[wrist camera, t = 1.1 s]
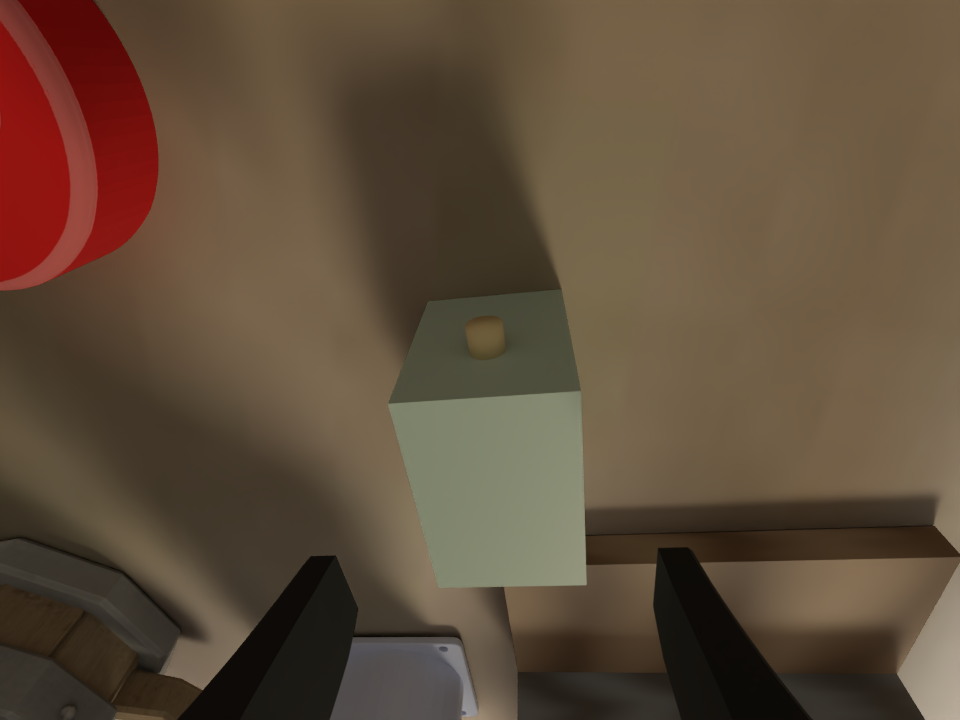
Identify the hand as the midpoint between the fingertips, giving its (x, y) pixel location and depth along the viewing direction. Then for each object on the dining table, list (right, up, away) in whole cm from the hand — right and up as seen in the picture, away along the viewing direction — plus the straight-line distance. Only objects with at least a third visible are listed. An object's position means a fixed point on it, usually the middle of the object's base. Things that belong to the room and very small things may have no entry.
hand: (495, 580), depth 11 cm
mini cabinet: (+1, +4, +7) cm, 8 cm away
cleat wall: (+10, -7, +13) cm, 18 cm away
